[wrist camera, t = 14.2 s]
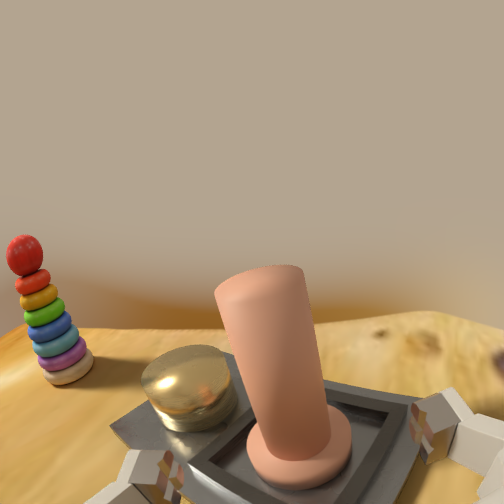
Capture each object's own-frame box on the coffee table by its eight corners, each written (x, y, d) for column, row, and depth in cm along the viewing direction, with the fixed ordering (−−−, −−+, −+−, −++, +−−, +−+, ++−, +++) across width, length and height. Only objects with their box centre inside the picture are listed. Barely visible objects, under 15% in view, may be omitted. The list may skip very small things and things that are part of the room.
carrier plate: (115, 434, 22) (88, 393, 21) (221, 359, 32) (207, 319, 31) (340, 584, 7) (338, 567, 6) (435, 411, 17) (443, 358, 16)
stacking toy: (46, 394, 29) (-18, 250, 24) (48, 368, 36) (-3, 245, 31) (98, 374, 33) (40, 226, 28) (92, 349, 40) (46, 225, 35)
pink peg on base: (232, 465, 17) (161, 306, 14) (289, 407, 21) (250, 256, 18) (317, 504, 12) (273, 329, 9) (368, 429, 17) (353, 255, 14)
